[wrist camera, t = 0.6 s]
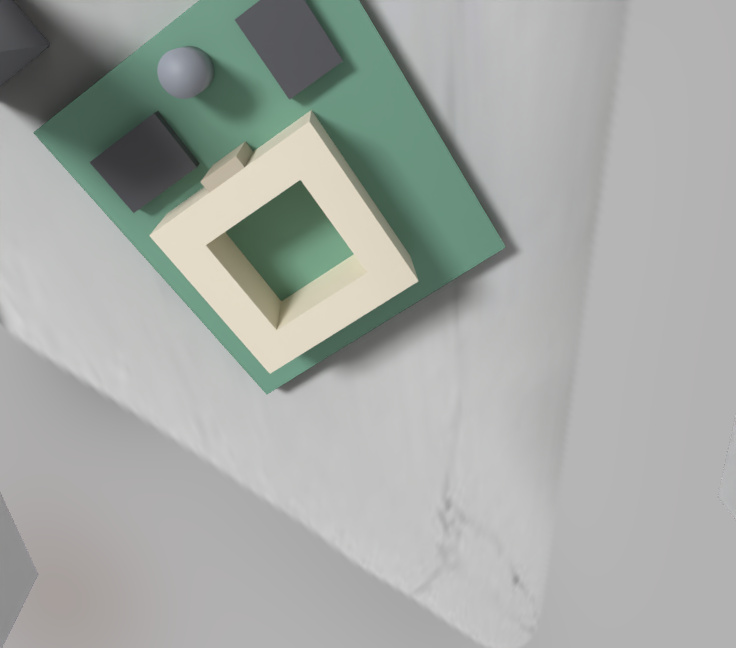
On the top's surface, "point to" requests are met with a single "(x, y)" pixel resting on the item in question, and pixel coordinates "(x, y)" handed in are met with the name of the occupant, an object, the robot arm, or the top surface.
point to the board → (294, 211)
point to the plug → (17, 40)
